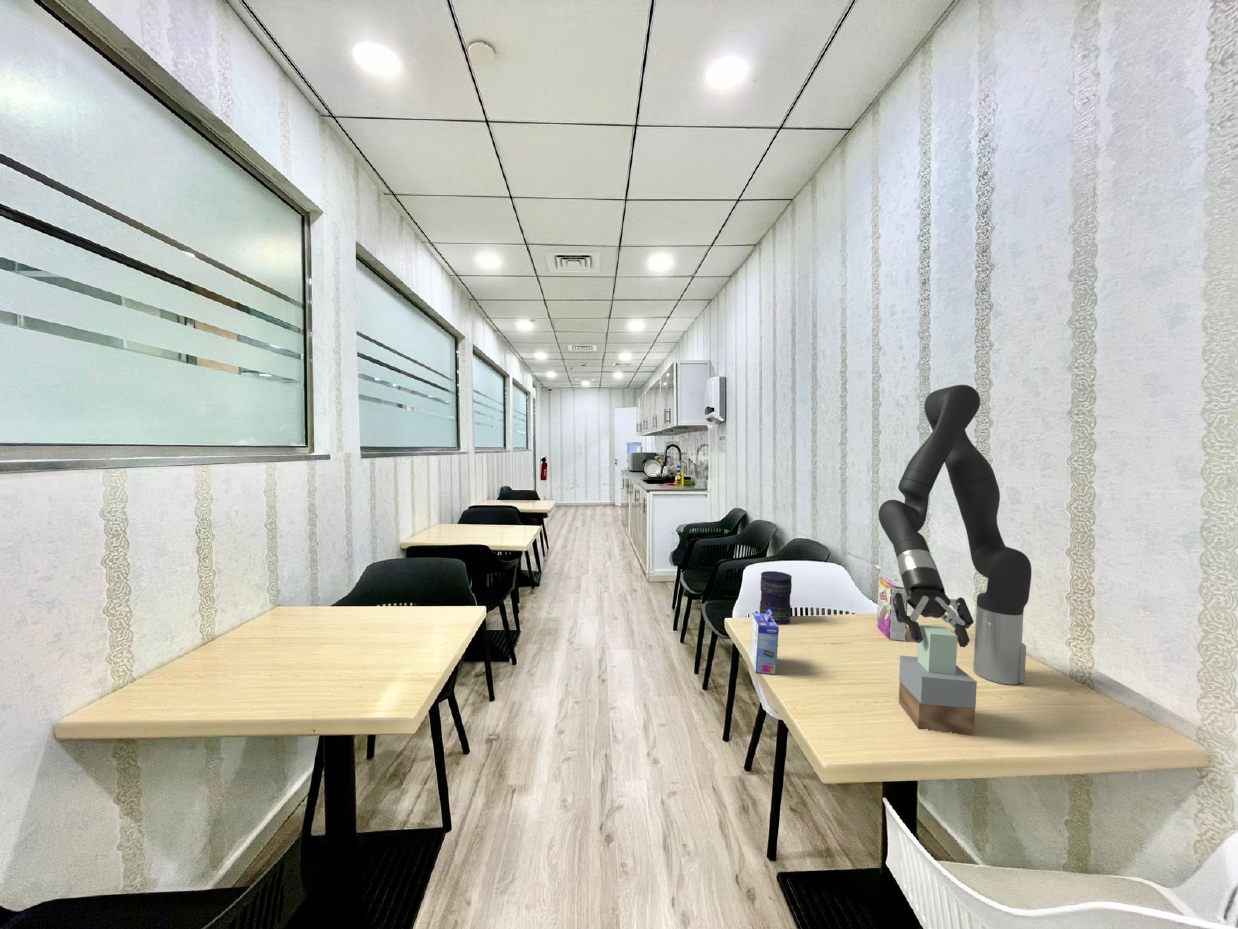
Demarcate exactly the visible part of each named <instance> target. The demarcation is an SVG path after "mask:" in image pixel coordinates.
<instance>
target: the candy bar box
mask: <svg viewBox="0 0 1238 929" xmlns="http://www.w3.org/2000/svg"><path fill="white" fill-rule="evenodd" d="M877 585H878V586H877V587H878V590H877V618H876V621H877V623H876V626H877V628H878V629H879V631H881V632H882V633H883V635H885V637H887V638H888V640H890V641H897V642H898V641H899V642H906V641H907V626H908V625H907V624H906V623H903V622H902V623H900V622H898V621H897V618H896V614H895V609H894V605H893V600H892V599H893V597H894V596H895V594H896V593H900V594H901V595H903V596H907V594H906V592H905V588H904V585H903V583H901V582H900V581H898V580H897V579H896V578H895V577H884V576H882V577H881V576H880V577H878V584H877ZM904 607H905V611H906V615H908V603H907V602H906V603H905V604H904Z"/></svg>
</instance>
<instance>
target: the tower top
mask: <svg viewBox="0 0 1238 929" xmlns="http://www.w3.org/2000/svg"><path fill="white" fill-rule="evenodd" d="M898 671H899V672H898V674H899V675H898V680H899V682H900V681H901V683H902V684H903V685H904V686H905V687H906V688H907V689H908V690H909V691H910V692H911V693H912V694H913V696H914V697H915V698H916V699H917V700H918V701H919V702H920V703H921V704H930V705H940V706H950V707H960V708H970V709H975V710H976V704H977V687H978V686H977V685H978V684H977V681H976V680H975V679H974V678H973V677H971V676H970V675H969V674H968V673H967V672H966V671H964V670H963V669H962V668H960V667H959V666H958V665H956V675H952V674H942V673H933V672H928V671H927V670H926V669H925V668H924V667H923V666H922V665H921V664H920V663H919V662H918V656H911V655H899V669H898Z"/></svg>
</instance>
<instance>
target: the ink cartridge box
mask: <svg viewBox="0 0 1238 929" xmlns="http://www.w3.org/2000/svg"><path fill="white" fill-rule="evenodd" d="M768 613H769V614H768ZM772 614H773V613H772V611H771V610H770V609H769V610H768V611H767V612H766V614H762V613H760V612H759V613H758V612H752V613H751V624H750V625H751V626H750V638H749V651H748V652H749V653H748V654H749V655H748V656H749V657H748V658H749V660H750V662H751V664H752V666H753V670H754V672H755V673H759V674H760V673H761V674H767V675H777V666H778V665H777V664H778V649H779V648H778V646H779V645H778V644H779V631H780V630H779V629H780V627H779V625H777V624H776V622H775V620H774V619H773V617H772V616H771V615H772Z"/></svg>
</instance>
